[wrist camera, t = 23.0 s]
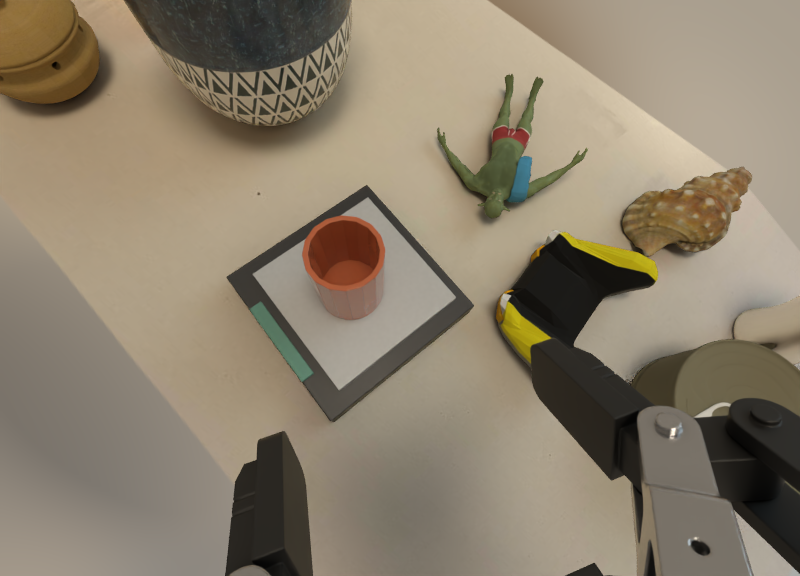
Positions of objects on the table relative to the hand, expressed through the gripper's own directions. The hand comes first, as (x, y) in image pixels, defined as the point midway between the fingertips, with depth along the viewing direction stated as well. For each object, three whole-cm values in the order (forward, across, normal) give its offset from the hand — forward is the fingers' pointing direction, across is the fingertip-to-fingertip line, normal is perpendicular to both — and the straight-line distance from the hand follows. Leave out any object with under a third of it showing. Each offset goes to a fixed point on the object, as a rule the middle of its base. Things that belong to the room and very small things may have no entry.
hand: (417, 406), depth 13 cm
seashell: (+24, -35, +11) cm, 44 cm away
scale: (+26, 0, +9) cm, 27 cm away
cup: (+24, 0, +7) cm, 25 cm away
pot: (+51, +24, -16) cm, 58 cm away
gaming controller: (+21, -18, +14) cm, 31 cm away
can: (+12, -26, +24) cm, 37 cm away
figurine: (+34, -20, +2) cm, 39 cm away
